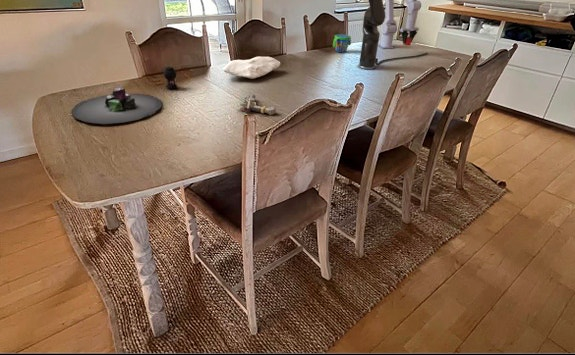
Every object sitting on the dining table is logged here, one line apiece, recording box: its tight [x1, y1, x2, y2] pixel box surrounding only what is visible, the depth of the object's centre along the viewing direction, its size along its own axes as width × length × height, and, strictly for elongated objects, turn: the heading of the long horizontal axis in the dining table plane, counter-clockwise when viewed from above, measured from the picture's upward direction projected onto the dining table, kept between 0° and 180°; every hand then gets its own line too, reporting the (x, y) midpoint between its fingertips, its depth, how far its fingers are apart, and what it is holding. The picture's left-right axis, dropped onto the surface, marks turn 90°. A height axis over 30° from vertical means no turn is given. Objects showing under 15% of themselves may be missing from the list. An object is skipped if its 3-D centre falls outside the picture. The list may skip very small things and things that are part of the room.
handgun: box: [239, 93, 277, 116], centre depth 158 cm, size 3×18×15 cm
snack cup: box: [332, 34, 352, 53], centre depth 246 cm, size 16×10×10 cm
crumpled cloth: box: [222, 56, 281, 80], centre depth 195 cm, size 24×35×9 cm
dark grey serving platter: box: [70, 86, 163, 125], centre depth 150 cm, size 35×35×9 cm
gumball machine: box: [161, 66, 179, 90], centre depth 173 cm, size 7×6×10 cm
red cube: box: [402, 36, 413, 47], centre depth 246 cm, size 5×5×5 cm
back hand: (406, 42), depth 247 cm, fingers closed on red cube, 5 cm apart
